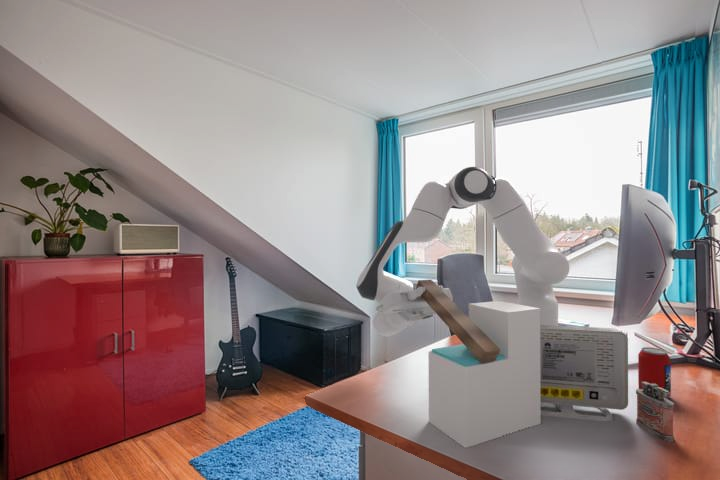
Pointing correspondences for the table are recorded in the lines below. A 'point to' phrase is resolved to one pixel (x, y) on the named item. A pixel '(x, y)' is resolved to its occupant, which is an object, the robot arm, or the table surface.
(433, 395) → the stepped stand
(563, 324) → the light bulb box
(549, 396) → the network device
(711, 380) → the table surface
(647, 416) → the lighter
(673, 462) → the table surface
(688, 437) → the table surface
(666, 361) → the beverage can
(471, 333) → the walnut block
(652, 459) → the table surface
